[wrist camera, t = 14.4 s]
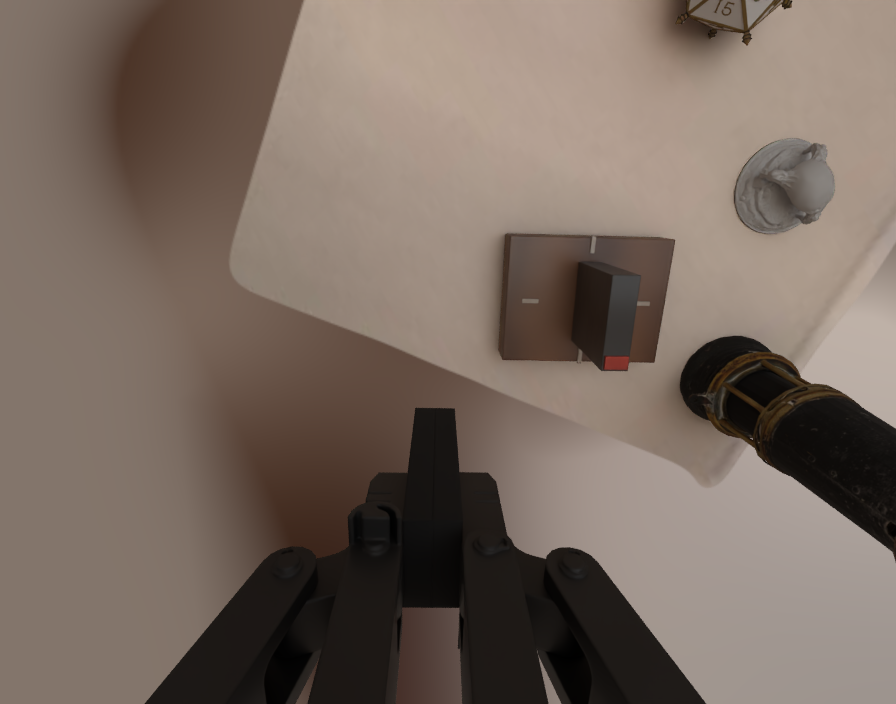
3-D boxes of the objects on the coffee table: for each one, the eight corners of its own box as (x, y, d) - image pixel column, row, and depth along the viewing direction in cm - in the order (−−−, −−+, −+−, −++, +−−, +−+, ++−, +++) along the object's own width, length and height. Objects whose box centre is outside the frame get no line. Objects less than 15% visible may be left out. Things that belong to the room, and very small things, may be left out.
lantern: (661, 384, 46) (1030, 682, 17) (732, 315, 44) (1283, 523, 15) (720, 435, 48) (1141, 780, 19) (790, 371, 46) (1380, 650, 17)
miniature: (749, 249, 42) (788, 254, 37) (722, 169, 40) (759, 164, 35) (836, 205, 41) (886, 204, 36) (812, 120, 39) (863, 108, 34)
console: (498, 351, 44) (502, 361, 41) (505, 232, 41) (510, 234, 38) (640, 353, 45) (655, 364, 42) (659, 236, 41) (677, 238, 38)
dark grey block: (578, 261, 39) (613, 275, 31) (602, 261, 39) (643, 275, 31) (570, 340, 41) (601, 372, 33) (593, 340, 41) (629, 372, 33)
